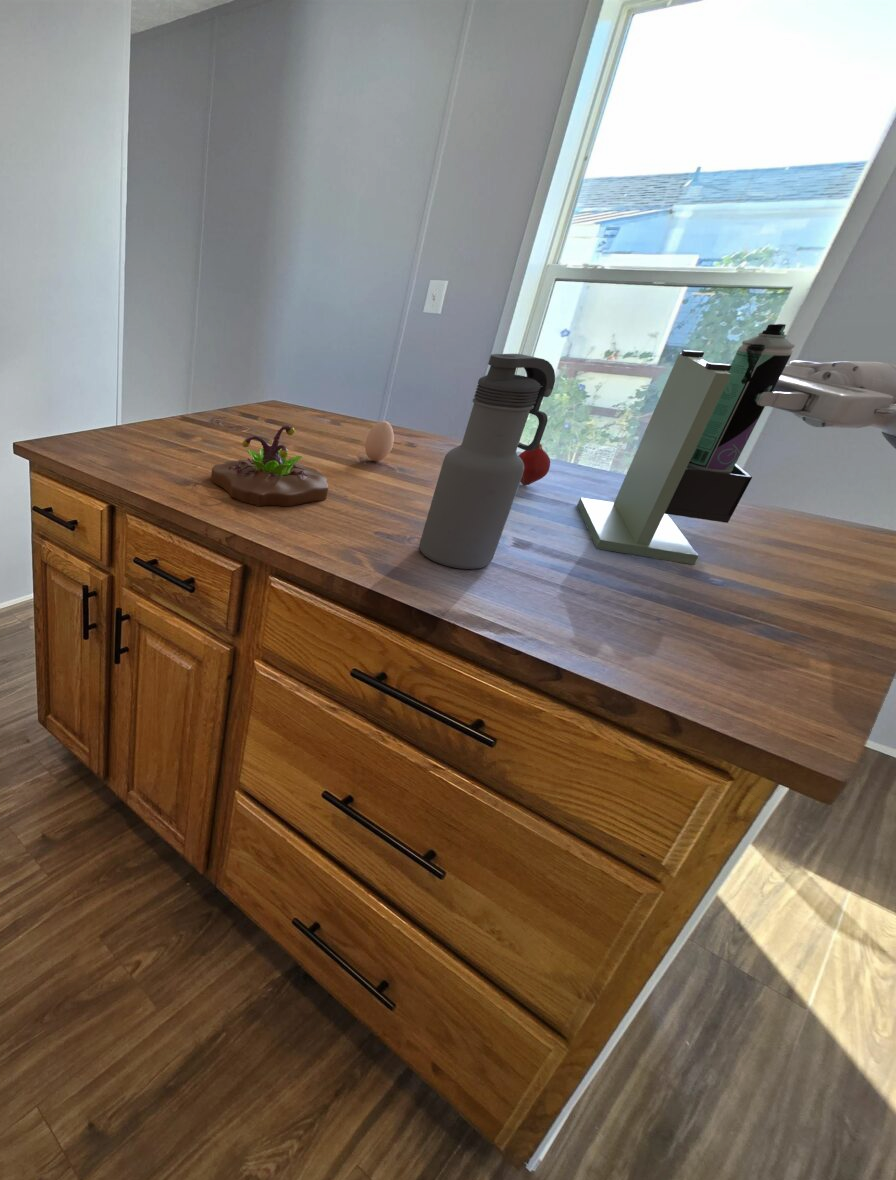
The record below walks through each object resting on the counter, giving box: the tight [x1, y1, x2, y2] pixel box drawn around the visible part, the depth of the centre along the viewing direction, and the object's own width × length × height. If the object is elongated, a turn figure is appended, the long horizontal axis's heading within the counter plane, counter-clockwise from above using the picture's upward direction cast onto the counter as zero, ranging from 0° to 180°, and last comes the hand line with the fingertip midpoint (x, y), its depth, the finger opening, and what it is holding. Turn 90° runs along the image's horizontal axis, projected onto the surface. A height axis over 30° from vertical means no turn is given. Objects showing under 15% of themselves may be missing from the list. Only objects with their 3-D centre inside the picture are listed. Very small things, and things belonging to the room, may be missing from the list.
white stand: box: [576, 349, 753, 566], centre depth 98 cm, size 16×20×27 cm
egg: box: [364, 420, 395, 462], centre depth 133 cm, size 5×5×8 cm
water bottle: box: [418, 353, 556, 570], centre depth 89 cm, size 10×10×28 cm
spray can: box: [687, 323, 796, 474], centre depth 92 cm, size 6×6×20 cm
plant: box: [210, 424, 329, 507], centre depth 118 cm, size 20×20×11 cm
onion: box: [518, 443, 551, 486], centre depth 122 cm, size 6×6×8 cm
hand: (737, 392), depth 92 cm, fingers closed on spray can, 5 cm apart
